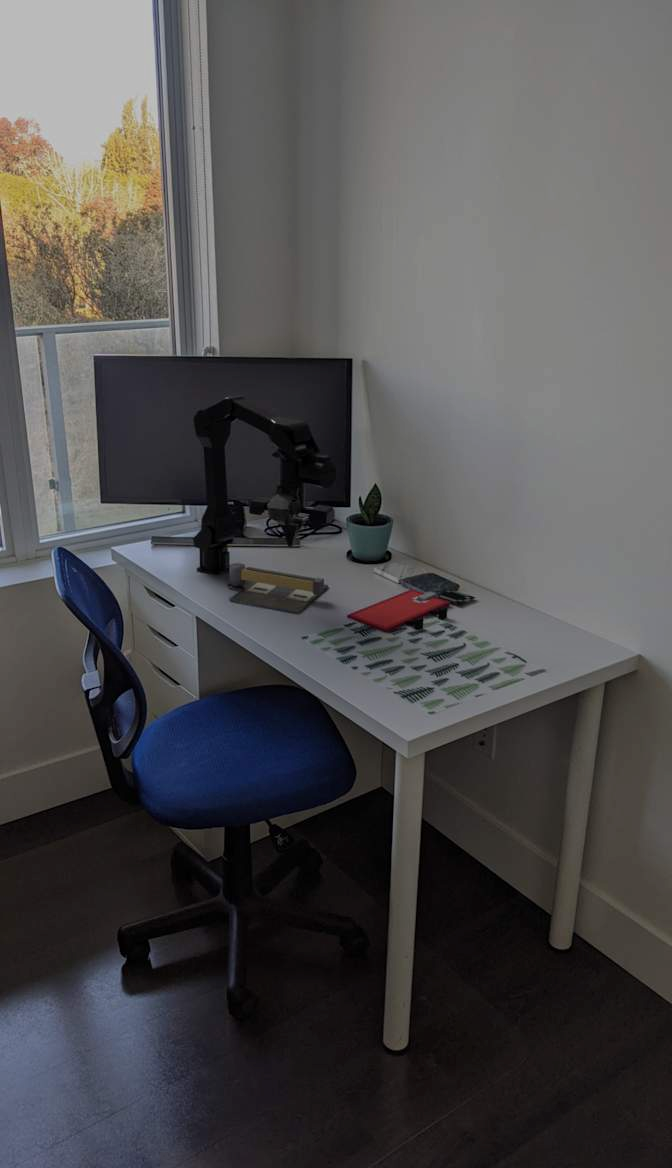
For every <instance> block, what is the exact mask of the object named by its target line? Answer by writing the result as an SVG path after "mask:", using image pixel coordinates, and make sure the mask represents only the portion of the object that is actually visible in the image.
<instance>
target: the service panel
mask: <svg viewBox="0 0 672 1168" xmlns="http://www.w3.org/2000/svg"><path fill="white" fill-rule="evenodd" d="M226 586H227V587H226V588H227V589H229V590H232V591H238V592H237V593H235V594H234V595H232V596H231V597H230V598H229V602H231V601H233V603H237V602H241V603H240V604H242V603H246V604H245V605H248V604H251V605H250V606H253V605H255V606H254V607H258V606H260V607H259V608H264V607H265V608H264V609H269V608H270V610H275V611H281V612H286V613H291V614H298V615H299V614H300V613H301V612H302V611H304V609H306V608H307V607H308V606H309V605H311V603H312V602H313V601H315V600H316V599H317V598H318V597H320V595H317V594H313V592H309V591H304V590H298V589H292V588H287V587H281V586H275V585H269V584H264V583H258V582H252V581H251V582H249V584H247V583H246V582H245V584H244V585H242V586H233V585H230V582H229V583H227V584H226ZM328 588H329V584H325V583H324V591H323V592H325V591H326V590H327V589H328ZM323 592H322V593H323ZM322 593H321V594H322Z"/></svg>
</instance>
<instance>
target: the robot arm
mask: <svg viewBox="0 0 672 1168" xmlns="http://www.w3.org/2000/svg"><path fill="white" fill-rule="evenodd" d="M237 420H239V421H241V422H243V423H245V424H246V425H249V426H250V427H252V428H253V429H256V430H258V431H260V432H262V433H263V434H265V435H266V436H268V437H269V440H270V442H271V443H272V444H273V445H274V446H276V447H277V449H276V450H275V451H273V452H272V454H271V456H272V458H277V459H279V475H278V476H279V479H278V485H276V492H275V495H274V496H273V497H266V496H258V497H256V498H254V499H253V500H251V501H250V502H249V505H248V513H249V514H250V515H257V516H262V515H263V514H264V513H265V511H266V512H268V518H269V519H270V520H273V521H275V522H276V523H278V525H279V526H280V528H281V530H282V533H283V535H284V538H285V541H286V544H287V546H288V547H289V548H293V547H294V546H295V543H296V541H297V538H298V536H299V534H300V532H301V529H302V527H303V526H304V524H305V523H306V522H308V521H310V522H311V524H316V525H328V524H329V523H330V522H332V521H334V519H335V513H336V512H335V509H334V508H333V506H330V505H324V504H317V505H315V506H314V507H312V508H311V507H310V508H309V507H305V506H307V502H308V500H307V499H305V497H306V488H307V487H308V485H311V486H314V487H318V488H323V489H329V488H331V487H332V486H333V485H334V483H335V481H336V478H337V469H336V466H335V464H334V463H333V462H332V460H331V458H332V457H331V456H330V455H322V454H321V450H320V448H319V445H318V444H317V443H316V441H315V438H314V436H313V434H312V432H311V430H310V426H309V424H308V423H306V422H305V421H302V420H298V419H295V418H288V417H281V416H278V415H276V414H274V413H272V412H271V411H268V410H266V409H265V408H263V407H260V406H259V405H257V404H255V403H253V402H251V401H249V400H247V399H246V398H245V397H244V396H241V395H235V396H227V397H225V398H224V399H222V400H220V401H219V402H218V403H215V404H214V405H211V406H209V407H207V408H205V409H198V411H197V412H196V413H195V414H194V417H193V425H194V426H193V427H194V431H195V437H196V438H197V439H198V441H199V442H200V444H201V446H202V448H203V462H204V463H203V464H204V476H205V490H206V508H205V511H204V512H203V515H202V518H201V524H200V525H201V526H200V531H198V533H196V535H194V537H192V541H193V546H194V547H195V548H197V549H199V550H198V551H199V566H198V567H196V571H197V572H203V573H207V574H208V573H209V574H215V575H221V574H222V573H224V572H226V571H227V570H228V569H229V570H230V565H231V563H230V559H231V558H230V557H231V556H230V551H229V547H228V545H232V544H233V542H234V539H235V536H237V533H238V529H239V524H238V519H239V517H238V516H239V514H238V512H233V511H232V509H231V507H230V505H229V501H228V499H229V498H228V483H227V481H228V479H227V467H226V465H227V464H226V462H227V461H226V449H225V448H226V444H227V441H229V440H228V439H229V437H230V435H231V427H232V424H233V422H235V421H237Z"/></svg>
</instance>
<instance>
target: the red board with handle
mask: <svg viewBox="0 0 672 1168" xmlns="http://www.w3.org/2000/svg"><path fill="white" fill-rule="evenodd" d="M436 593H437V592H433V591H427V592H422V591H419V590H416V589H409V590H407V591H404V592H401V593H399V594H396V595H394V596H391V597H389V598H386V599H384V600H381V601H379V602H376V603H373V604H371V605H369V606H366V607H364V608H361V609H358V610H355V611H353V612H350V613H349V614H346V618H348V619H350V620H353V621H355V622H357V623H360V624H362V625H365V626H367V627H370V628H373V629H375V630H377V631H380V632H382V633H385V634H387V633H389V632H391V631H393V630H396V629H399V628H401V627H404V626H413V630H415V631H416V632H417V631H420V630H423V629H424V618H425V617H427V616H430V615H431V616H438V620H440V621H444V620H445V619H447V618H448V608H449V607H450V606H451V603H452V604H455V605H458V606H460V605H463V604H464V603H466V602H469V601H472V600H474V599H476V597H475V596H472V595H469V594H468V593H467V594H466V593H463V592H460V591H457V590H454V589H451V591H446V592H443V593H439V594H436Z"/></svg>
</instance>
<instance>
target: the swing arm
mask: <svg viewBox="0 0 672 1168" xmlns="http://www.w3.org/2000/svg"><path fill="white" fill-rule="evenodd" d="M246 581H247V582H251V583H252V582H258V583H264V584H269V585H275V586H281V587H287V588H292V589H298V590H304V591H309V592H313V594H317V595H319V596H320V595H321V594H322V592H323V591H324V584H325V578H323V577H322V578H321V577H316V578H315V577H311V576H310V577H309V576H304V575H297V574H293V573H286V572H280V571H274V570H268V569H263V568H256V567H252V566H246V565H245V564H244V563H241V562H240V563H239V562H236V563H235V562H234V563H230V568H229V583H230V585H233V586H242V585H244V584H245V583H246ZM324 592H325V591H324Z"/></svg>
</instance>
